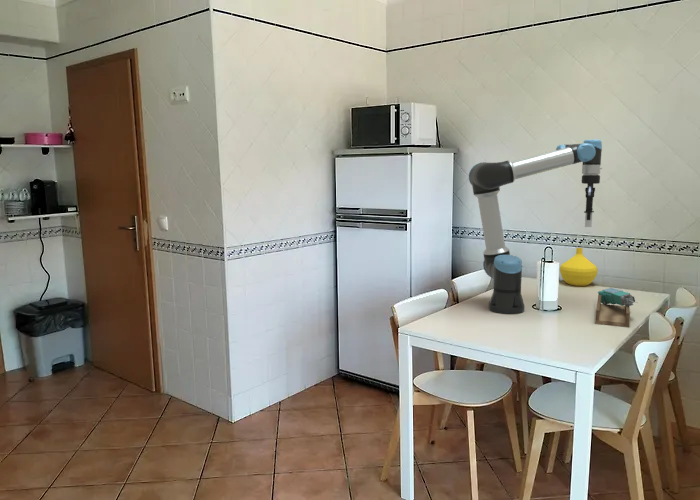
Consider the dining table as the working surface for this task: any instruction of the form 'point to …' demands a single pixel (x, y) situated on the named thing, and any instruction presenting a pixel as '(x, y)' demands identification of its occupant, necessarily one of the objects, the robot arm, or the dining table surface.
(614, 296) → the building
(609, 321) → the tray
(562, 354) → the dining table surface
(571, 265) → the vase
